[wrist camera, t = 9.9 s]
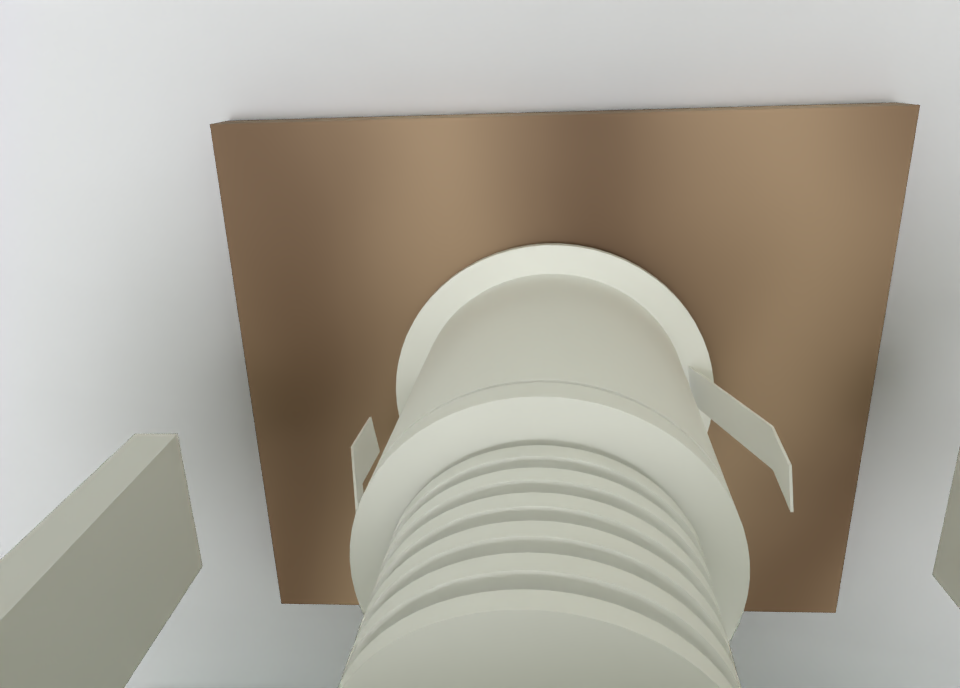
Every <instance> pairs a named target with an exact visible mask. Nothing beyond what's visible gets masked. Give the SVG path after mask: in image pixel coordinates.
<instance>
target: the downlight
mask: <svg viewBox="0 0 960 688" xmlns="http://www.w3.org/2000/svg"><path fill="white" fill-rule="evenodd" d="M396 398H397V407H398V412H399V419H398V421H397V423H396V425H395V427H394V430H393V432H392V434H391V436H390V438H389V440H388V443H387V445H386V447H385V449H384V451H383V453H382V455H381V458H380V460H379V462H378V464H377V466H376V468H375V471H374V473H373V475H372V477H371V479H370V481H369V483H368V486H367V488H366V490H365V492H363V482H364V480H365V478H366V476H367V474H368V473H369V471H370V469H371V467H372V465H373V463H374V461H375V460H376V458H377V456H378V454H379V452H380V450H379V446H378V442H377V438H376V434H375V430H374V426H373V422H372V418H371V417H369V418H368V420H367V421H366V423H365V425H364V426H363V428H362V430H361V431H360V433H359V434H358V436H357V438H356V439H355V441H354V442H353V444H352V446H351V457H352V470H353V483H354V497H355V510H356V514H355V518H354V522H353V526H352V532H351V540H350V567H351V576H352V581H353V585H354V590H355V593H356V596H357V599H358V602H359V605H360V608H361V610H362V612H363V614H364V617H363V620H362V622H361V625H360V628H359V631H358V633H357V636H356V639H355V643H354V646H353V648H352V651H351V653H350V656H349V658H348V661H347V664H346V667H345V669H344V672H343V675H342V679H341V682H340V685H339V687H338V688H741V685H740V682H739V678H738V675H737V671H736V667H735V664H734V660H733V656H732V653H731V649H730V646H729V642H730V640H731V638H732V637H733V635H734V633H735V631H736V629H737V627H738V625H739V622H740V619H741V617H742V614H743V611H744V608H745V604H746V600H747V596H748V589H749V581H750V559H749V551H748V544H747V540H746V536H745V532H744V528H743V525H742V523H741V520H740V517H739V515H738V512H737V510H736V507H735V505H734V502H733V500H732V497H731V494H730V492H729V489H728V487H727V484H726V481H725V479H724V476H723V473H722V471H721V468H720V465H719V463H718V460H717V457H716V455H715V452H714V450H713V447H712V444H711V442H710V439H709V436H708V434H707V432H708V429H709V426H710V421H711V419H712V420H713V421H714V422H715V423H717V424H718V425H719V426H720V427H721V428H723V429H724V430H725V431H726V432H727V433H729V434H730V435H731V436H732V437H734V438H735V439H736V440H737V441H738V442H740V443H741V444H742V445H743V446H744V447H746V448H747V449H748V450H749V451H751V452H752V453H753V454H754V455H755V456H757V457H758V458H759V459H760V460H761V461H763V462H764V463H765V464H766V465H768V466H769V467H770V468H771V469H772V470H773V471H774V474H775V476H776V479H777V481H778V483H779V486H780V488H781V491H782V493H783V495H784V498H785V500H786V503H787V505H788V507H789V510H790V512H794V509H793V483H792V465H791V462H790V460H789V458H788V456H787V454H786V452H785V450H784V447H783V445H782V443H781V441H780V439H779V437H778V435H777V432H776V430H775V428H774V426H773V425H771V424H770V423H769V422H767V421H766V420H764V419H763V418H762V417H760V416H759V415H758V414H756V413H755V412H753V411H752V410H751V409H749V408H748V407H746V406H745V405H744V404H742V403H741V402H740V401H738V400H737V399H735V398H734V397H733V396H731V395H730V394H729V393H727V392H726V391H724V390H723V389H722V388H720V387H719V386H717V385H716V384H715V383H714V380H713V372H712V366H711V362H710V358H709V353H708V350H707V348H706V345H705V342H704V340H703V337H702V335H701V333H700V331H699V329H698V327H697V325H696V323H695V321H694V320H693V318H692V317H691V315H690V314H689V312H688V310H687V309H686V308H685V306H684V305H683V304H682V303H681V301H680V300H679V299H678V298H677V297H676V296H675V295H674V294H673V293H672V292H671V291H670V290H669V289H668V288H667V287H666V286H665V285H664V284H663V283H662V282H661V281H659V280H658V279H657V278H656V277H654V276H653V275H652V274H650V273H649V272H647V271H646V270H644V269H643V268H641V267H639V266H638V265H636V264H634V263H632V262H630V261H628V260H626V259H624V258H621V257H619V256H617V255H614V254H612V253H609V252H605V251H602V250H599V249H595V248H591V247H586V246H580V245H573V244H562V243H543V244H533V245H525V246H520V247H515V248H511V249H507V250H504V251H501V252H497V253H495V254H492V255H490V256H487V257H485V258H482V259H480V260H478V261H476V262H475V263H473V264H471V265H469V266H467V267H466V268H464V269H463V270H461V271H460V272H458V273H457V274H455V275H454V276H453V277H451V278H450V279H449V280H448V281H446V282H445V283H444V284H443V285H442V286H441V287H440V288H439V289H438V290H437V291H436V292H435V293H434V294H433V295H432V296H431V297H430V299H429V300H428V301H427V302H426V304H425V305H424V306H423V307H422V309H421V310H420V312H419V314H418V315H417V317H416V318H415V320H414V322H413V324H412V326H411V328H410V330H409V332H408V334H407V336H406V338H405V341H404V344H403V347H402V350H401V354H400V358H399V362H398V368H397V375H396Z"/></svg>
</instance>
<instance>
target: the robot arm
mask: <svg viewBox="0 0 960 688" xmlns="http://www.w3.org/2000/svg"><path fill="white" fill-rule="evenodd" d="M201 568H202V561H201V556H200V550H199V545H198V540H197V534H196V529H195V524H194V518H193V513H192V508H191V502H190V497H189V492H188V486H187V481H186V476H185V470H184V465H183V460H182V454H181V449H180V444H179V438H178V434H134V435H133V436H132V437H131V438H130V439H129V440H128V441H127V442H126V443H124V444H123V445H122V446H121V447H120V448H119V449H118V450H117V451H116V452H115V453H114V454H113V455H112V456H111V457H110V458H109V459H107V460H106V461H105V462H104V463H103V464H102V465H101V466H100V467H99V468H98V469H97V470H96V471H95V472H94V473H93V474H91V475H90V476H89V477H88V478H87V479H86V480H85V481H84V482H83V483H82V484H81V485H80V486H79V487H78V488H77V489H76V490H74V491H73V492H72V493H71V494H70V495H69V496H68V497H67V498H66V499H65V500H64V501H63V502H62V503H61V504H60V505H58V506H57V507H56V508H55V509H54V510H53V511H52V512H51V513H50V514H49V515H48V516H47V517H46V518H45V519H44V520H43V521H41V522H40V523H39V524H38V525H37V526H36V527H35V528H34V529H33V530H32V531H31V532H30V533H29V534H28V535H27V536H25V537H24V538H23V539H22V540H21V541H20V542H19V543H18V544H17V545H16V546H15V547H14V548H13V549H12V550H11V551H9V552H8V553H7V554H6V555H5V556H4V557H3V558H2V559H1V560H0V688H124V687H125V685H126V684H127V682H128V681H129V679H130V678H131V676H132V675H133V673H134V671H135V670H136V668H137V667H138V665H139V664H140V662H141V661H142V659H143V658H144V656H145V654H146V653H147V651H148V650H149V648H150V647H151V645H152V644H153V642H154V641H155V639H156V637H157V636H158V634H159V633H160V631H161V630H162V628H163V627H164V625H165V624H166V622H167V620H168V619H169V617H170V616H171V614H172V613H173V611H174V610H175V608H176V607H177V605H178V603H179V602H180V600H181V599H182V597H183V596H184V594H185V593H186V591H187V590H188V588H189V586H190V585H191V583H192V582H193V580H194V579H195V577H196V576H197V574H198V573H199V571H200V569H201ZM932 575H933V576H934V577H935V579H936V580H937V581H938V582H939V584H940V585H941V586H942V587H943V589H944V590H945V591H946V592H947V594H948V595H949V596H950V597H951V599H952V600H953V601H954V602H955V604H956V605H957V606H958V607H959V609H960V448H959V453H958V458H957V462H956V467H955V472H954V476H953V481H952V486H951V490H950V495H949V500H948V504H947V509H946V514H945V518H944V523H943V528H942V532H941V537H940V542H939V546H938V551H937V556H936V560H935V565H934V570H933V574H932Z"/></svg>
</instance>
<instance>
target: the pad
mask: <svg viewBox="0 0 960 688" xmlns="http://www.w3.org/2000/svg"><path fill="white" fill-rule="evenodd" d="M919 108H920V105H914V104H905V103H862V104H826V105H789V106H753V107H716V108H679V109H643V110H606V111H570V112H533V113H496V114H460V115H423V116H387V117H350V118H314V119H277V120H240V121H225V122H220V123H214V124H210V128H211V135H212V141H213V148H214V155H215V161H216V168H217V175H218V181H219V188H220V195H221V202H222V208H223V215H224V222H225V228H226V235H227V242H228V248H229V255H230V262H231V269H232V275H233V282H234V289H235V295H236V302H237V309H238V315H239V322H240V329H241V336H242V342H243V349H244V356H245V362H246V369H247V376H248V382H249V389H250V396H251V403H252V409H253V416H254V423H255V429H256V436H257V443H258V450H259V456H260V463H261V470H262V476H263V483H264V490H265V496H266V503H267V510H268V517H269V523H270V530H271V537H272V543H273V550H274V557H275V563H276V570H277V577H278V584H279V590H280V597H281V604H339V605H359V602H358V599H357V596H356V593H355V590H354V585H353V581H352V576H351V567H350V540H351V532H352V526H353V522H354V518H355V514H356V510H355V497H354V483H353V470H352V457H351V446H352V444H353V442H354V441H355V439H356V438H357V436H358V434H359V433H360V431H361V430H362V428H363V426H364V425H365V423H366V421H367V420H368V418H369V417H371V418H372V422H373V426H374V430H375V434H376V438H377V442H378V446H379V450H380V452H379V454H378V456H377V458H376V460H375V461H374V463H373V465H372V467H371V469H370V471H369V473H368V474H367V476H366V478H365V480H364V482H363V492H365V490H366V488H367V486H368V483H369V481H370V479H371V477H372V475H373V473H374V471H375V468H376V466H377V464H378V462H379V460H380V458H381V455H382V453H383V451H384V449H385V447H386V445H387V443H388V440H389V438H390V436H391V434H392V432H393V430H394V427H395V425H396V423H397V421H398V419H399V412H398V407H397V398H396V375H397V368H398V362H399V358H400V354H401V350H402V347H403V344H404V341H405V338H406V336H407V334H408V332H409V330H410V328H411V326H412V324H413V322H414V320H415V318H416V317H417V315H418V314H419V312H420V310H421V309H422V307H423V306H424V305H425V304H426V302H427V301H428V300H429V299H430V297H431V296H432V295H433V294H434V293H435V292H436V291H437V290H438V289H439V288H440V287H441V286H442V285H443V284H444V283H445V282H446V281H448V280H449V279H450V278H451V277H453V276H454V275H455V274H457V273H458V272H460V271H461V270H463V269H464V268H466V267H467V266H469V265H471V264H473V263H475V262H476V261H478V260H480V259H482V258H485V257H487V256H490V255H492V254H495V253H497V252H501V251H504V250H507V249H511V248H515V247H520V246H525V245H533V244H543V243H562V244H573V245H580V246H586V247H591V248H595V249H599V250H602V251H605V252H609V253H612V254H614V255H617V256H619V257H621V258H624V259H626V260H628V261H630V262H632V263H634V264H636V265H638V266H639V267H641V268H643V269H644V270H646V271H647V272H649V273H650V274H652V275H653V276H654V277H656V278H657V279H658V280H659V281H661V282H662V283H663V284H664V285H665V286H666V287H667V288H668V289H669V290H670V291H671V292H672V293H673V294H674V295H675V296H676V297H677V298H678V299H679V300H680V301H681V303H682V304H683V305H684V306H685V308H686V309H687V310H688V312H689V314H690V315H691V317H692V318H693V320H694V321H695V323H696V325H697V327H698V329H699V331H700V333H701V335H702V337H703V340H704V342H705V345H706V348H707V350H708V353H709V358H710V362H711V366H712V372H713V380H714V383H715V384H716V385H717V386H719V387H720V388H722V389H723V390H724V391H726V392H727V393H729V394H730V395H731V396H733V397H734V398H735V399H737V400H738V401H740V402H741V403H742V404H744V405H745V406H746V407H748V408H749V409H751V410H752V411H753V412H755V413H756V414H758V415H759V416H760V417H762V418H763V419H764V420H766V421H767V422H769V423H770V424H771V425H773V426H774V428H775V430H776V432H777V435H778V437H779V439H780V441H781V443H782V445H783V447H784V450H785V452H786V454H787V456H788V458H789V460H790V462H791V465H792V483H793V509H794V512H790V510H789V507H788V505H787V503H786V500H785V498H784V495H783V493H782V491H781V488H780V486H779V483H778V481H777V479H776V476H775V474H774V471H773V470H772V469H771V468H770V467H769V466H768V465H766V464H765V463H764V462H763V461H761V460H760V459H759V458H758V457H757V456H755V455H754V454H753V453H752V452H751V451H749V450H748V449H747V448H746V447H744V446H743V445H742V444H741V443H740V442H738V441H737V440H736V439H735V438H734V437H732V436H731V435H730V434H729V433H727V432H726V431H725V430H724V429H723V428H721V427H720V426H719V425H718V424H717V423H715V422H714V421H713V420H712V419H711V421H710V426H709V429H708V432H707V434H708V436H709V439H710V442H711V444H712V447H713V450H714V452H715V455H716V457H717V460H718V463H719V465H720V468H721V471H722V473H723V476H724V479H725V481H726V484H727V487H728V489H729V492H730V494H731V497H732V500H733V502H734V505H735V507H736V510H737V512H738V515H739V517H740V520H741V523H742V525H743V528H744V532H745V536H746V540H747V544H748V551H749V559H750V581H749V589H748V596H747V600H746V604H745V608H744V611H763V612H823V613H836V607H837V601H838V595H839V589H840V583H841V577H842V571H843V565H844V559H845V553H846V547H847V541H848V534H849V528H850V522H851V516H852V510H853V504H854V498H855V492H856V486H857V480H858V474H859V468H860V462H861V456H862V450H863V444H864V438H865V432H866V426H867V420H868V414H869V408H870V402H871V396H872V390H873V384H874V378H875V372H876V366H877V360H878V354H879V348H880V342H881V336H882V330H883V324H884V318H885V312H886V306H887V300H888V294H889V288H890V282H891V276H892V270H893V264H894V258H895V252H896V246H897V240H898V234H899V228H900V222H901V216H902V210H903V204H904V198H905V192H906V186H907V180H908V174H909V168H910V162H911V156H912V150H913V144H914V138H915V132H916V126H917V120H918V114H919Z"/></svg>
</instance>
